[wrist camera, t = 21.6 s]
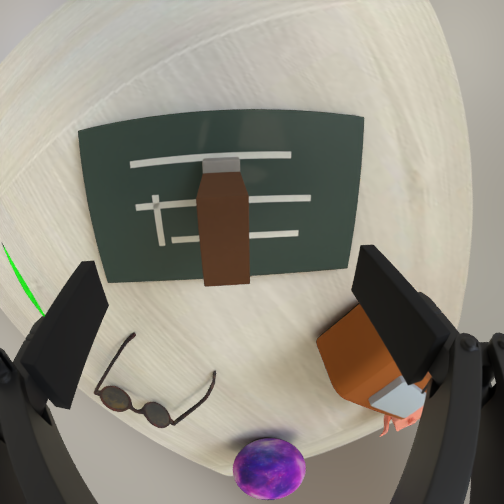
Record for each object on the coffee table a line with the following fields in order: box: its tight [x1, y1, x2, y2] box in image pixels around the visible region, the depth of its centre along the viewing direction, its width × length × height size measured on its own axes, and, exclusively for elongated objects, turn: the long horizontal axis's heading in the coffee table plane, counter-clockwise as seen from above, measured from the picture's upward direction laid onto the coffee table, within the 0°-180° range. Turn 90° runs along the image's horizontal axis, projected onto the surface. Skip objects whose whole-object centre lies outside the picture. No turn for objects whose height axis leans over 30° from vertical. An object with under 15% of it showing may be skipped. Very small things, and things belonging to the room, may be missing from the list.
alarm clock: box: [316, 304, 432, 420], centre depth 34 cm, size 24×8×11 cm, turn 47°
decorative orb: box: [233, 438, 306, 500], centre depth 44 cm, size 15×15×15 cm
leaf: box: [2, 244, 45, 316], centre depth 27 cm, size 1×14×1 cm, turn 14°
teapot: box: [380, 405, 424, 436], centre depth 46 cm, size 12×15×8 cm
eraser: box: [196, 157, 250, 286], centre depth 21 cm, size 8×3×8 cm, turn 0°
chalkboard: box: [78, 109, 364, 283], centre depth 25 cm, size 26×16×1 cm, turn 90°
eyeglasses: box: [94, 333, 216, 428], centre depth 34 cm, size 15×15×5 cm
